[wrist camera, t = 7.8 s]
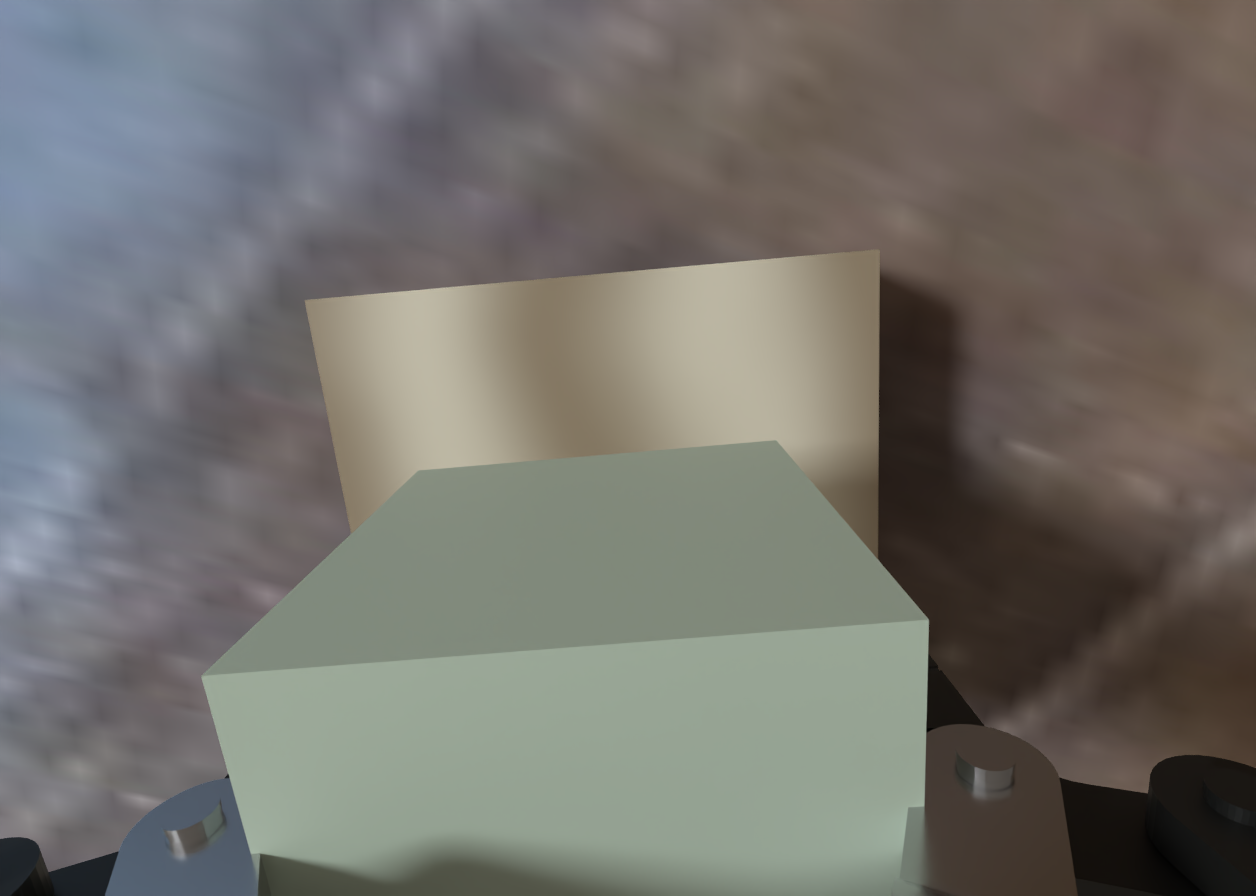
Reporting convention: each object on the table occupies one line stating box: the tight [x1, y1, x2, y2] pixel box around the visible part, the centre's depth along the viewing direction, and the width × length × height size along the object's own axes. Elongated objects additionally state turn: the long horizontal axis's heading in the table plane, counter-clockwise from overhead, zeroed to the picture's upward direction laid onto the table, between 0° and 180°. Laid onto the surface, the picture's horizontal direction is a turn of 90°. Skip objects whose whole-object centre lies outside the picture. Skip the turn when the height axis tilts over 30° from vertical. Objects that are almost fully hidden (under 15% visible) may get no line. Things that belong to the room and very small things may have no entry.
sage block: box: [201, 440, 929, 896], centre depth 9 cm, size 6×6×6 cm
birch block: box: [305, 249, 880, 559], centre depth 18 cm, size 12×12×4 cm
